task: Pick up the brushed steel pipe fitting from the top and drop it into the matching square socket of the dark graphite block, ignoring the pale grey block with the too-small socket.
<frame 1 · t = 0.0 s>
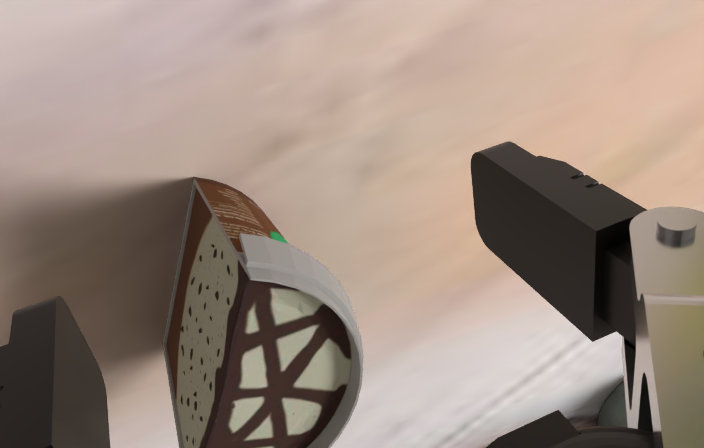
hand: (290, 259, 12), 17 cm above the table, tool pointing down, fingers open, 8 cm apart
bottle: (635, 402, 53), on the table
food container: (238, 265, 33), on the table
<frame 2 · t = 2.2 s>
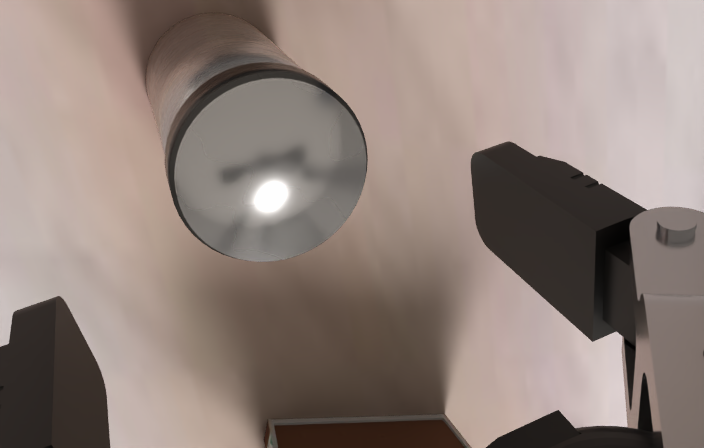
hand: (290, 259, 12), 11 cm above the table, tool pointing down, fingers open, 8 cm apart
steel fitting: (216, 82, 21), on the table
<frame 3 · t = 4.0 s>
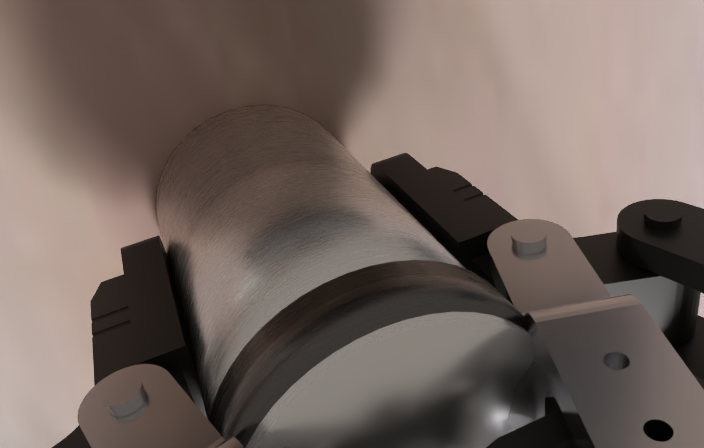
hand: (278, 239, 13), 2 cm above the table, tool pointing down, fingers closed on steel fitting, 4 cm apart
steel fitting: (258, 201, 14), on the table, touching gripper
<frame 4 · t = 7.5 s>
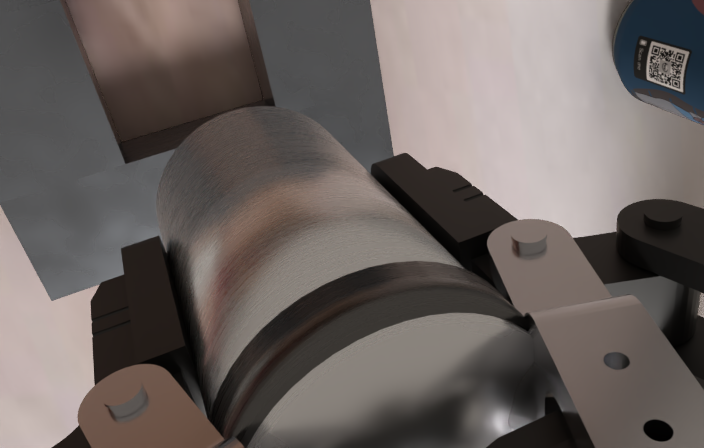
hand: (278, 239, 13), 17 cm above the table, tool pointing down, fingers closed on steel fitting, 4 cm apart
steel fitting: (258, 201, 14), point 15 cm above the table, touching gripper
graphite socket block: (171, 49, 27), on the table
soda can: (651, 33, 36), on the table
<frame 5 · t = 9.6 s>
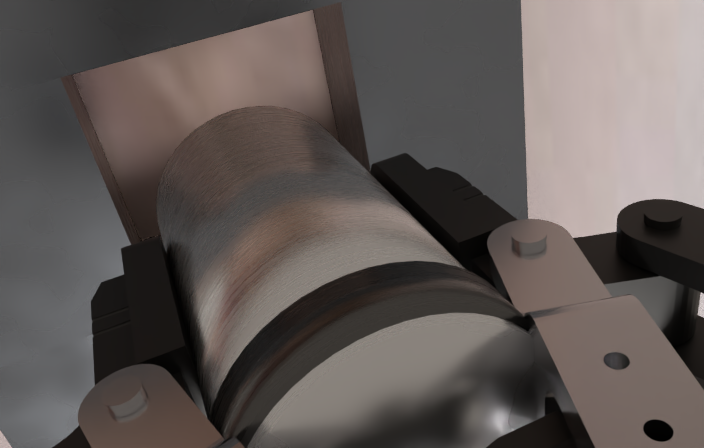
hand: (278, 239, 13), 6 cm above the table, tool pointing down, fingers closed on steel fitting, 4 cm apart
steel fitting: (258, 201, 14), point 4 cm above the table, touching gripper
graphite socket block: (224, 132, 18), on the table
when the fingers open (4 cm above the table, at t = 11.2 s): steel fitting drops 2 cm, resting in graphite socket block.
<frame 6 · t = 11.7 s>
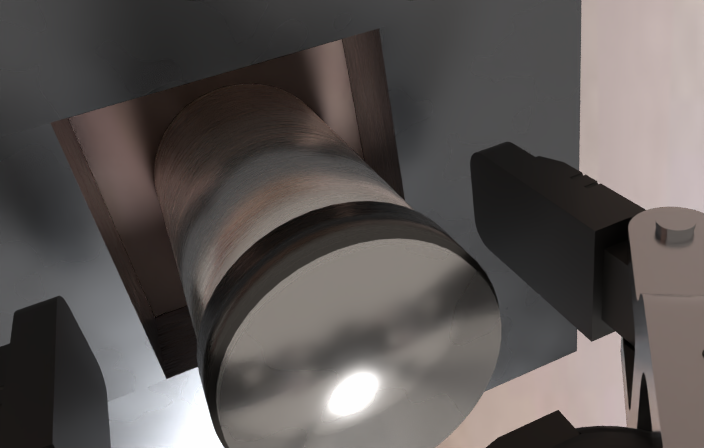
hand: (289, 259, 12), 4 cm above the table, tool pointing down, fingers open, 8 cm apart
steel fitting: (246, 171, 16), resting in graphite socket block
graphite socket block: (240, 171, 16), on the table
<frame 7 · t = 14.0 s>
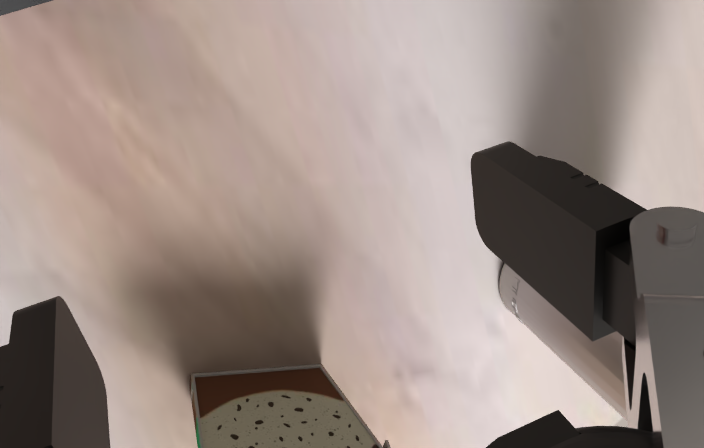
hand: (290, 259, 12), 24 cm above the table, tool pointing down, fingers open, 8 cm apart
food container: (251, 402, 46), on the table
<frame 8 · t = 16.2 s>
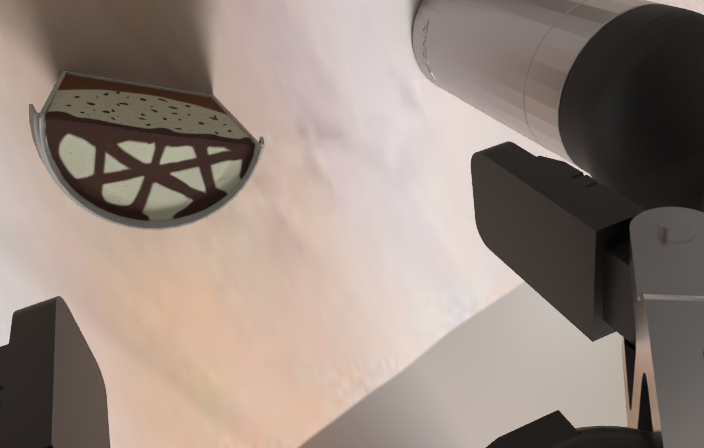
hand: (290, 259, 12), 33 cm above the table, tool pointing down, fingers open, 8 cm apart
food container: (135, 127, 43), on the table
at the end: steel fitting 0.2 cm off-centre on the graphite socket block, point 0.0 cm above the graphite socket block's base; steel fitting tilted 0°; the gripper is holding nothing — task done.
